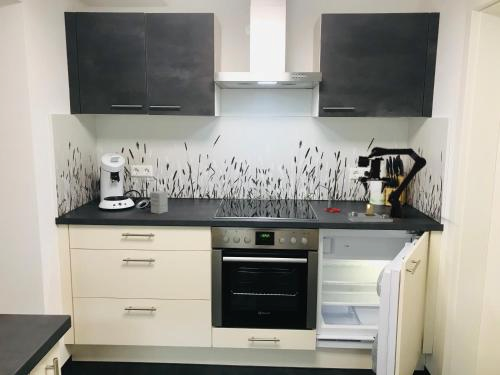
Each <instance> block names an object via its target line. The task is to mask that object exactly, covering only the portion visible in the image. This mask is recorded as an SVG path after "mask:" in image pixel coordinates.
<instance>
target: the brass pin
mask: <svg viewBox="0 0 500 375" xmlns="http://www.w3.org/2000/svg"><path fill="white" fill-rule="evenodd" d="M365 213H366V216H374V213H375V204H373V203H366V212H365Z"/></svg>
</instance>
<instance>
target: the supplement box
mask: <svg viewBox="0 0 500 375" xmlns="http://www.w3.org/2000/svg"><path fill="white" fill-rule="evenodd" d="M168 201H169V200H168V191H165V190H155V191H150V213H152V214H153V213H154V214H159V215H160V214H163V213H168V211H169V209H168V208H169V206H168V203H169V202H168Z"/></svg>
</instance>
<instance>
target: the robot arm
mask: <svg viewBox="0 0 500 375" xmlns="http://www.w3.org/2000/svg"><path fill="white" fill-rule="evenodd" d="M383 156H409V157H410V158H411V159H412V161H414V162H413V164H412V167H411V169H410V170H409V171H408V173H407V175H405V176H404V178H403V180H402V181H401V182H400V184H399V185H398V187H397V188H396V189H391V191H390V193H388V195H387V197H388V198H387V202H388V204H390V205H389V208H388V214H387V215H389V217H390V218H400V219H401V218H404V216H403V206H402V201H401V200H400V198H401V196H402V194H403V192H404V191H405V189H406V188H407V187H408V186H409V184H410V183H411V181H412V180H413V179H414V178H415V176H416V175H417V174H418V173H419V172H420V171H421V170H423V168H425V166H426V165H427V159H426V158H425V157H424V156H420V155H419V154H418V153H417V152H415V150H414V149H413V148H412V147H409V148H388V147H387V148H386V147H382V146H374V147H373V148H372V149H371V151H370V154H369V155H368V156H365V155H364V156H363V155H358V160H357V167H358V168H368V167H369V166H370V169H369V170H364V173H363V175H364V176H358V178H357V181H358V182H360V183H361V184H362V185H363V188H364V191H365V194H366V195H367V194H368V187H369V185H368V184H369V183H368V182H381V189H380V194H383V193H384V191H385V189H386V187H387V186H388V185H389V184H390V183H392V182H393V179H392V177H390V176H382V177H381V173H382V170H381V164H382V162H383V161H385V158H383Z"/></svg>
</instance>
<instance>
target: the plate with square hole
mask: <svg viewBox="0 0 500 375" xmlns="http://www.w3.org/2000/svg"><path fill="white" fill-rule="evenodd" d="M366 213H367V212H358V211H351V212H347V219H348V220H349V221H351V222H353V223H394V222H393V221H394V219H393V218H392V217H391V216H389V215H388V214H386V213H383V214H382V215H380V214H378V213H376V212H374V216H366Z"/></svg>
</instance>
